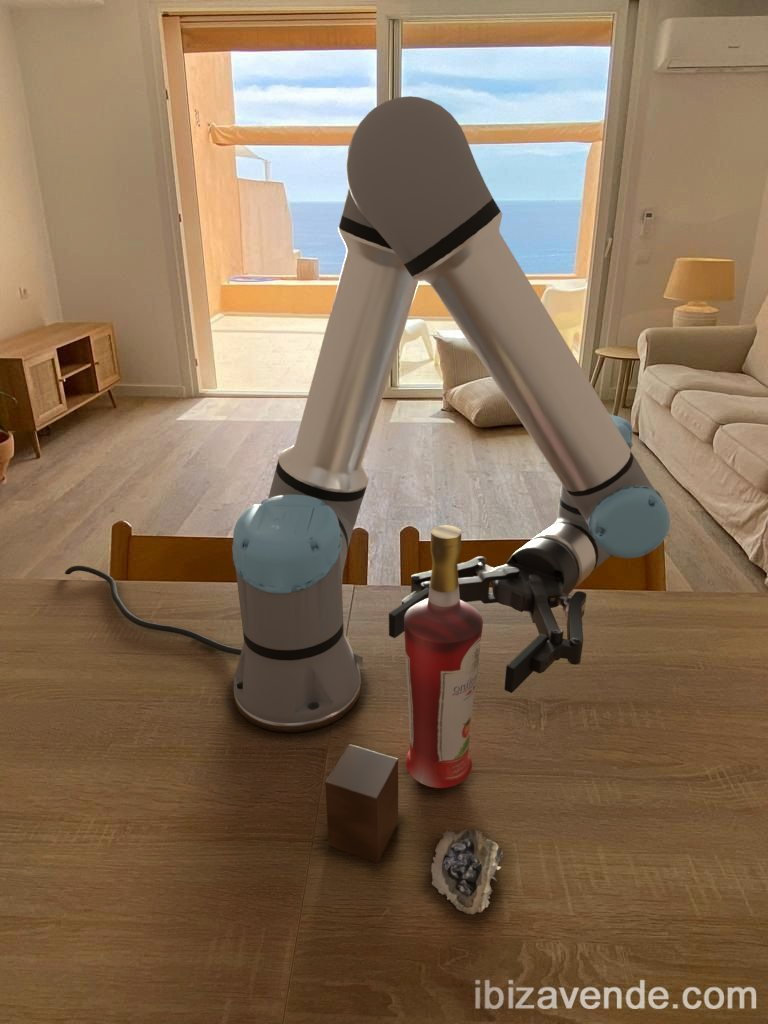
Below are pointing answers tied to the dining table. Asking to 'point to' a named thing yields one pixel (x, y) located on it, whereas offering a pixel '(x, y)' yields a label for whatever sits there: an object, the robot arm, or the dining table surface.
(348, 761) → the walnut block
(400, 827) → the dining table surface
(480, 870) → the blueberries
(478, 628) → the liquor
